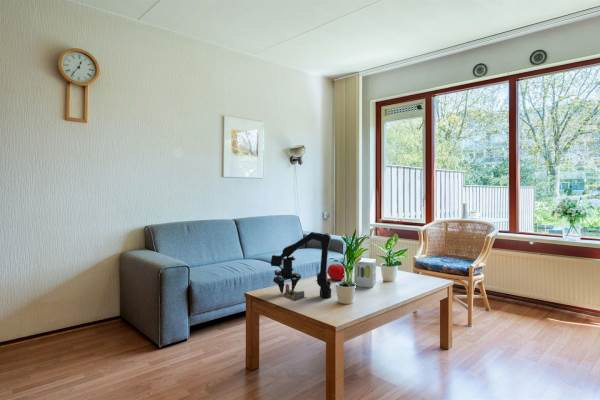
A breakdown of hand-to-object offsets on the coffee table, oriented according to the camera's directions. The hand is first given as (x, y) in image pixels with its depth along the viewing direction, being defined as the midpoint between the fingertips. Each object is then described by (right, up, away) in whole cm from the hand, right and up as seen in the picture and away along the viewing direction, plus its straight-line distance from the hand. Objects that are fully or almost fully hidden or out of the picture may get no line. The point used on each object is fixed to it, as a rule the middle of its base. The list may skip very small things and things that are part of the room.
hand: (287, 291), depth 227 cm
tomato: (+35, -2, +41) cm, 53 cm away
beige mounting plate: (+4, -3, -4) cm, 6 cm away
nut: (+6, -2, -6) cm, 8 cm away
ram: (+1, -1, -1) cm, 2 cm away
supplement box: (+54, -2, +28) cm, 61 cm away
